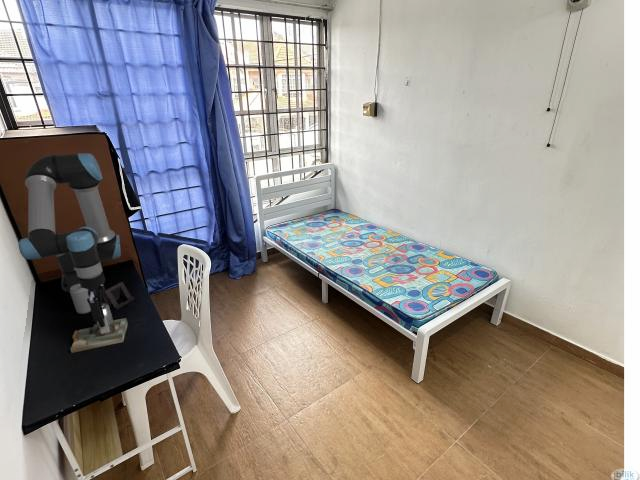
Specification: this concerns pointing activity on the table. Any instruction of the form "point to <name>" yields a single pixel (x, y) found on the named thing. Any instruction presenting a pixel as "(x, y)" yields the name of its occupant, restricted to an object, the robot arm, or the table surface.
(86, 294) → the beverage can
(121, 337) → the dock mount
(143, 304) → the table surface
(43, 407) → the table surface
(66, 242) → the robot arm
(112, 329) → the metal bottle
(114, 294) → the dark hollow square block
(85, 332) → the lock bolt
